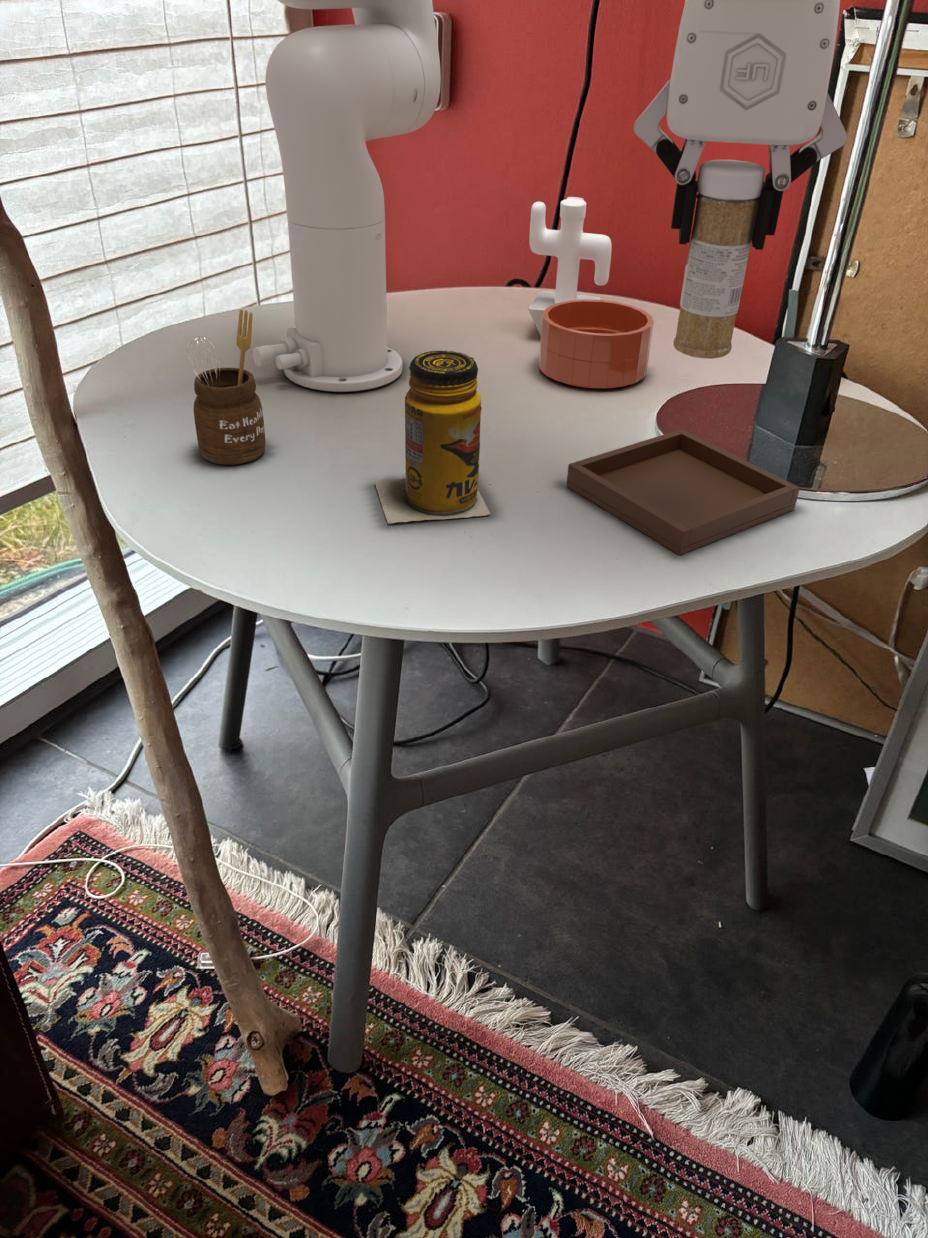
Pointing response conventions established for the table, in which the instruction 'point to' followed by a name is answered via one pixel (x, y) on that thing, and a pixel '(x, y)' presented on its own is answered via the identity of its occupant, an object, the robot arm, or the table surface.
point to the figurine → (567, 253)
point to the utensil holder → (229, 408)
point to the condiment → (438, 443)
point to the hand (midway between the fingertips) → (720, 239)
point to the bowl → (595, 343)
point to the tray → (682, 489)
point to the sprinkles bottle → (717, 256)
